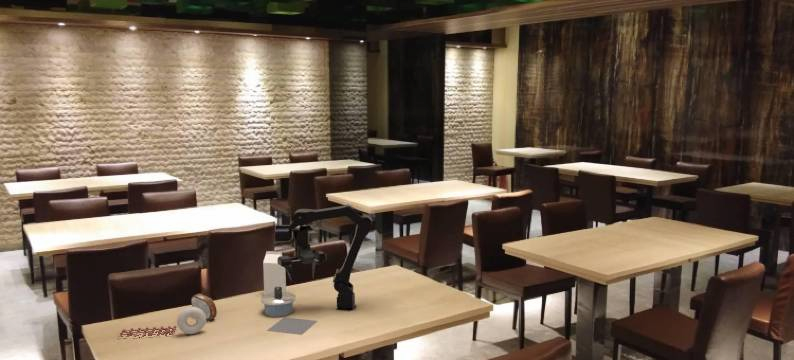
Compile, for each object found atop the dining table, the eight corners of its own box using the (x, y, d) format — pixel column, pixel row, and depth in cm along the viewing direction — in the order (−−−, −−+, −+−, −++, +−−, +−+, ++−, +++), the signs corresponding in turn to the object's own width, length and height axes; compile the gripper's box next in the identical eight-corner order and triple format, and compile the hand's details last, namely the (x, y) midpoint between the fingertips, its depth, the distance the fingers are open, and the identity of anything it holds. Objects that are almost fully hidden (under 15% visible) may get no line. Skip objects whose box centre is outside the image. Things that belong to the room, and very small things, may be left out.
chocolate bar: (122, 333, 225) (122, 328, 224) (176, 330, 227) (176, 324, 227) (116, 340, 218) (116, 335, 217) (172, 337, 220) (172, 332, 220)
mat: (317, 322, 233) (317, 320, 233) (301, 335, 220) (301, 334, 220) (284, 318, 237) (284, 317, 237) (266, 331, 224) (266, 330, 224)
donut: (206, 330, 226) (204, 303, 224) (207, 333, 223) (206, 306, 221) (177, 334, 222) (175, 307, 220) (178, 337, 219) (176, 310, 217)
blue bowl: (297, 309, 247) (296, 296, 246) (284, 318, 236) (284, 305, 236) (272, 307, 250) (272, 293, 249) (259, 316, 239) (259, 302, 239)
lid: (301, 295, 247) (301, 284, 246) (286, 306, 234) (285, 294, 233) (271, 292, 251) (270, 281, 250) (254, 303, 238) (253, 291, 237)
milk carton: (279, 297, 261) (278, 254, 259) (264, 296, 263) (262, 253, 260) (286, 292, 268) (284, 250, 266) (270, 291, 270) (269, 249, 267)
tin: (217, 320, 235) (216, 299, 234) (210, 323, 233) (209, 301, 232) (197, 311, 245) (196, 291, 244) (190, 313, 243) (189, 293, 242)
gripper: (285, 248, 231) (286, 288, 233) (331, 242, 240) (332, 281, 242) (276, 242, 241) (277, 281, 243) (321, 237, 250) (321, 274, 252)
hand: (302, 279), depth 245 cm, fingers open, 9 cm apart
